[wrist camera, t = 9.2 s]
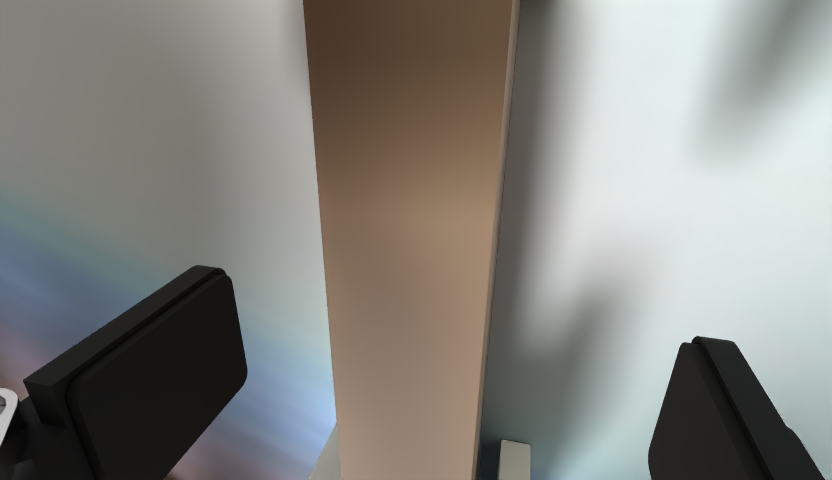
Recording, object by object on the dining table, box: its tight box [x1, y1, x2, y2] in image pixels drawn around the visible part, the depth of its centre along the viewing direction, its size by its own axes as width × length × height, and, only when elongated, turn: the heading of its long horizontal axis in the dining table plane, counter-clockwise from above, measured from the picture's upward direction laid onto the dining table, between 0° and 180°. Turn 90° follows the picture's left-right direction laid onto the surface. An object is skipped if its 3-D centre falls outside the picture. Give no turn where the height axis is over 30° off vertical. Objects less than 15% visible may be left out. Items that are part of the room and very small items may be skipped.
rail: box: [303, 0, 521, 480], centre depth 12 cm, size 3×16×5 cm, turn 0°
